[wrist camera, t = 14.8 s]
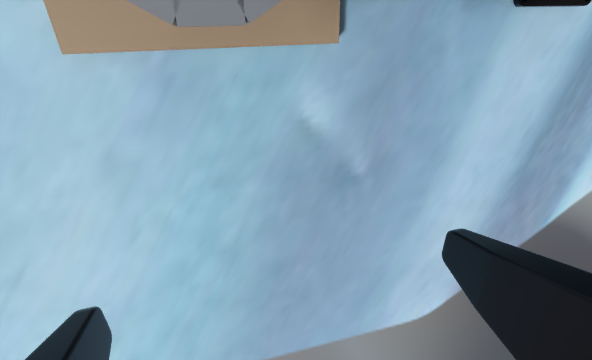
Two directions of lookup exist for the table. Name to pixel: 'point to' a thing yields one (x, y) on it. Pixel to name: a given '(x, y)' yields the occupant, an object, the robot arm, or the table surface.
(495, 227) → the table surface
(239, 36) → the duct collar
